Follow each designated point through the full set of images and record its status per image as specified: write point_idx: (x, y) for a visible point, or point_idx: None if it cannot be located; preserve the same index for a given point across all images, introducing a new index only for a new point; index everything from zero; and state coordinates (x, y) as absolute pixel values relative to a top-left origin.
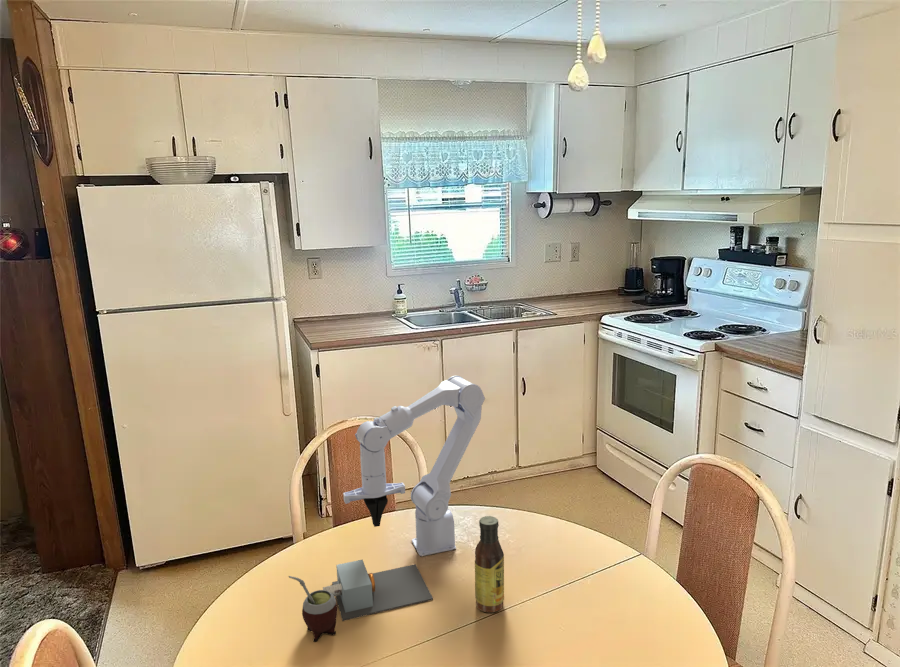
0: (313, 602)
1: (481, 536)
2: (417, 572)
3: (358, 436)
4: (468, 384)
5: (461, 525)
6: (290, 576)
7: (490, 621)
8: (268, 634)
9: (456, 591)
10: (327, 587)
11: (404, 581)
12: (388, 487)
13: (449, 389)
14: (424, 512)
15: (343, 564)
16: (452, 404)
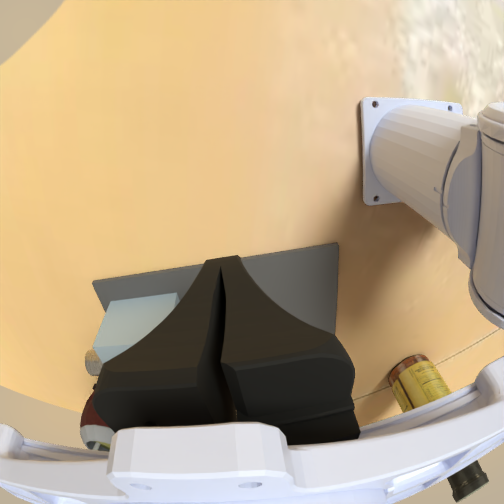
0: (99, 444)
1: (448, 479)
2: (331, 282)
3: None
4: None
5: (494, 80)
6: None
7: (387, 392)
8: (41, 376)
9: (382, 340)
10: (96, 373)
11: (288, 311)
12: (401, 488)
13: None
14: (477, 279)
15: (112, 350)
16: None
